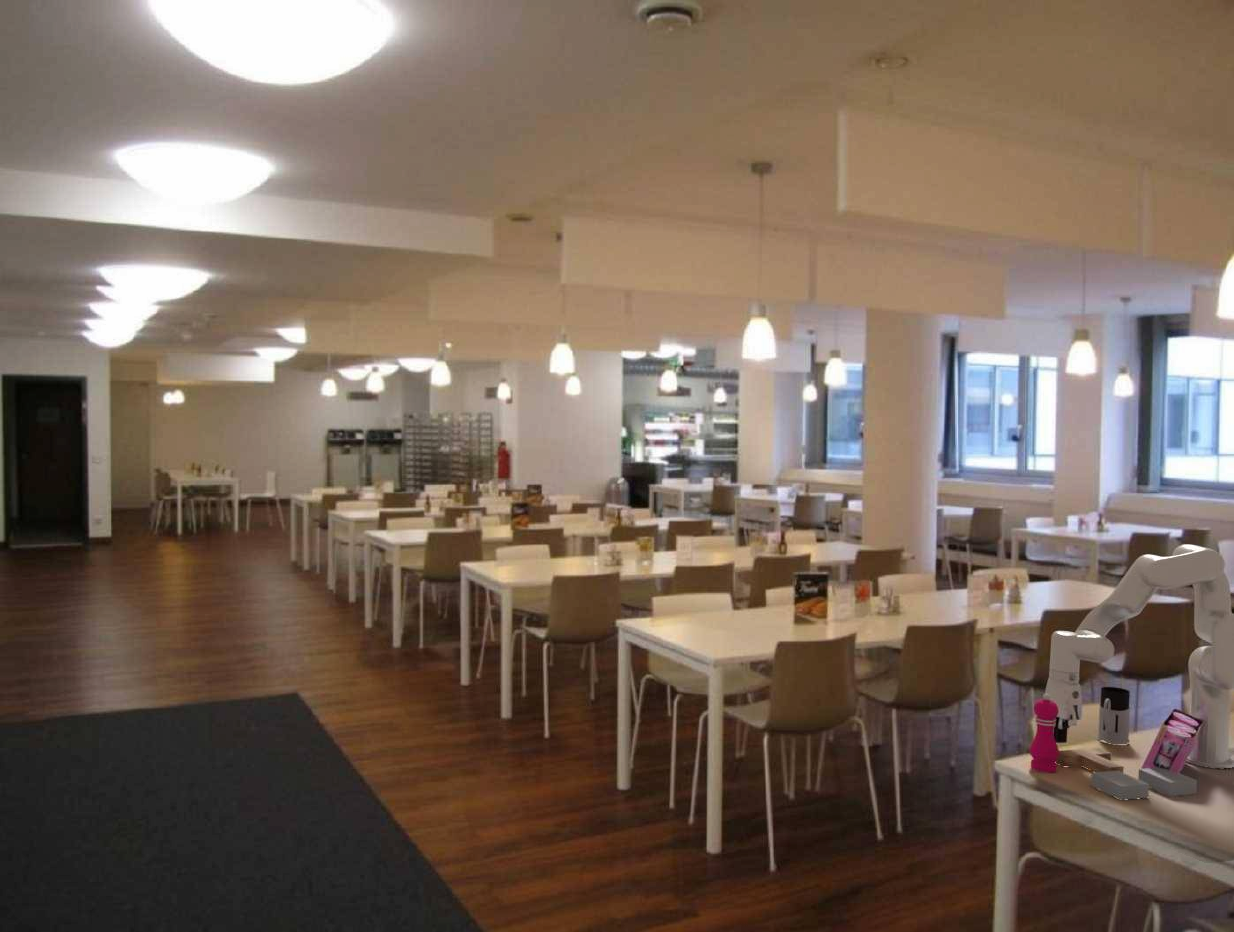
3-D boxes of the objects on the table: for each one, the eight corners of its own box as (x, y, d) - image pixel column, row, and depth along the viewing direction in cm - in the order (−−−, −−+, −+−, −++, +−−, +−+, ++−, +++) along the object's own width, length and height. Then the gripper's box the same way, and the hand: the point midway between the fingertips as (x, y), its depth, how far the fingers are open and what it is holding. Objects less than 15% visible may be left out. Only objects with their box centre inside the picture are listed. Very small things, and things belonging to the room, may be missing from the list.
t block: (1098, 758, 270) (1098, 748, 270) (1139, 776, 256) (1140, 765, 256) (1052, 762, 266) (1052, 751, 266) (1091, 780, 252) (1092, 768, 252)
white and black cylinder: (1133, 741, 288) (1135, 690, 287) (1119, 751, 277) (1122, 698, 277) (1101, 734, 294) (1103, 684, 293) (1086, 744, 283) (1088, 693, 283)
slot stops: (1163, 780, 254) (1164, 767, 253) (1196, 794, 244) (1196, 780, 244) (1091, 786, 247) (1091, 772, 247) (1121, 800, 238) (1122, 786, 238)
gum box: (1171, 787, 250) (1193, 739, 247) (1139, 770, 254) (1160, 724, 251) (1184, 765, 269) (1205, 721, 266) (1154, 750, 273) (1173, 707, 271)
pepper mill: (1061, 774, 256) (1064, 698, 255) (1032, 772, 257) (1035, 696, 257) (1054, 766, 263) (1057, 691, 262) (1026, 763, 264) (1029, 689, 264)
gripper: (1094, 683, 267) (1090, 750, 267) (1056, 669, 281) (1052, 733, 282) (1071, 683, 265) (1067, 751, 265) (1034, 670, 279) (1030, 734, 280)
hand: (1059, 741), depth 274 cm, fingers closed
